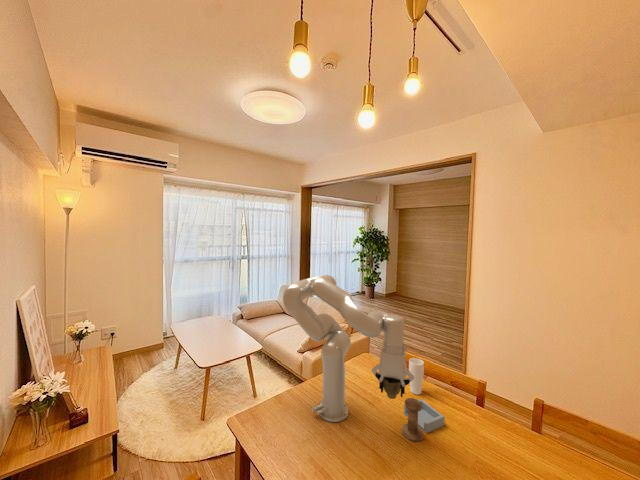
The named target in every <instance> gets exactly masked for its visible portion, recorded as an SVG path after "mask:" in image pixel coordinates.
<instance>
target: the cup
mask: <svg viewBox="0 0 640 480" xmlns="http://www.w3.org/2000/svg"><path fill="white" fill-rule="evenodd" d="M383 391H384V393H386V396H387V397H388V398H389V399H390V400H394V399H397V396H398V395H399V394H400V393H401V382H400V380H399V379H393V378H388V377H384V378H383Z"/></svg>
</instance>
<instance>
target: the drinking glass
mask: <svg viewBox="0 0 640 480" xmlns="http://www.w3.org/2000/svg"><path fill="white" fill-rule="evenodd" d="M408 371H409V372H410V373H411V374H412V375H413V376H414V379H413V380H412V381H411V382H410V383H409V391H410V392H411V394H413V395H416V396H419V395H421V394H422V393H423V382H424V381H423V380H424V375H425V374H424V373H425V362H424V361H423V360H422V359H420V358H418V357H417V358H415V357H413V358H412V357H411V358H409V360H408Z"/></svg>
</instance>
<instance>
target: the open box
mask: <svg viewBox="0 0 640 480" xmlns="http://www.w3.org/2000/svg"><path fill="white" fill-rule="evenodd" d="M417 400H418V401H420V402H421V404H422V409H421V410H420V411H418V426H419V427H420V428H421V429H422V431H423V432H424V433H425V434H427V433H430V432H432V431H435V430H437V429H441V428H442V427H444V426H445V418H446V417H445V416H444V414H442V413H441V412H439V411H438V410H437V409H435V408H434V407H432V405H430V404H429V403H427V402H426V401H425V400H423V399H422V398H420V399H417ZM403 414H404V415H405V416H407V417H408V409H407V408H406V406H405V404H404V405H403Z"/></svg>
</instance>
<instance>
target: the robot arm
mask: <svg viewBox="0 0 640 480" xmlns="http://www.w3.org/2000/svg"><path fill="white" fill-rule="evenodd" d="M313 296H315V297H317V298H318V299H320V300H321V301H323V302H325V303H326V304H327V305H329V306H330V307H331V308H333V309H335V310H336V311H337V312H338V313H340V315H341V317H342V318H343V319H344V320H345V322H346V323H347V324H348V325H349V326H351V327H352V328H353V329H354V330H355V331H357V332H358V333H360V334H361V335H363V336H365V337H367V338H370V339H373V338H374V339H375V338H376V337H378V336H379V335H380V334H381V332H383V342H382V343H383V344H382V345H383V346H382V348H381V350H380V354H379V363H378V364H377V365H374V366H373V367H371V372H372V373H373V375H374V376H375V378H376V379H377V380H378V383H379V384H378V385H379V386H378V387H379V388H378V389H379V390H380V393H382V394H383V393H384V387H383V378H384V377H388V378H393V379H399V380H400V382H401V389H400V398H403V395H405V388H406V387H407V385H410V382H411V381H412V380H413V379H414V376H413V375H412V374H411V373H410V372H409V369H407V356H406V355H407V354H406V351H407V352H408V346H405V345H404V340H405V339H404V334H405V332H404V331H405V319H404V318H403V317H401V316H400V315H397V314H389V313H385V312H382V311H378V310H377V311H376V310H373V311H369V312H368V314H367V313H364V312H363V311H362V310H360V309H359V307H358V306H356V304H355V303H354V300H353V298H352V296H351V294H350V292H348V291H346V290H344V289H343V288H342V287H339V286H338V285H337V281H336V279H335V278H334V277H333V276H331V275H329V274H323V275H320V276H315V277H309V278H303V279H301V280H298V281H296V282H293V283H291V284H290V285H288V286H287V287H286V289H284V291H283V295H282V302H283V305H284V308H285V309H286V311H287V312H288V313H289V314H290V316H291V317H292V318H293V319H294V320H295V321H296V322H297V323H298V325H299V326H300V327H301V329H302V330H303V331H304V332H305V333H306V335H307V336H308V337H309V338H310V339H311V340H312V341H313V342H317V343H319V342H322V341H323V340H325V339H326V341H325V342H324V344H323V345H322V347H321V351H320V352H321V362H322V363H321V364H322V399H321V400H320V402H319V404H318V405H315V406H311V412H312V413H316V414H317V415H319V416H320V417H321V418H322V419H323V420H324V421H327V422H328V423H339V422H343V421H344V420H345V419H347V417H348V416H349V407H348V406H347V405H346V364H345V356H346V354H347V353H348V351H349V349H350V347H351V344H352V343H351V338H350V336H349V334H348V333H347V331H346V330H344V328H343V327H342V325H340V323H338V322H337V321H336V319H335V318H334V317H333V316H332V315H330V314H328V313H319V314H318V313H316V312H315V311H314V310H313V309H312V307H311V306H309V305H308V304H306V303H305V301H304V300H305V299H307V298H309V297H313ZM407 376H408V377H407Z"/></svg>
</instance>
